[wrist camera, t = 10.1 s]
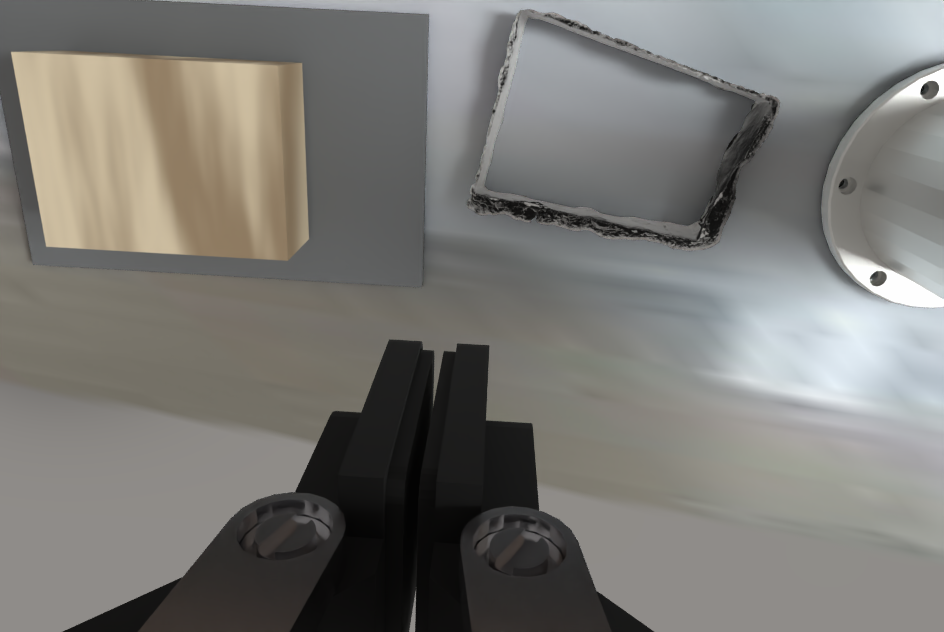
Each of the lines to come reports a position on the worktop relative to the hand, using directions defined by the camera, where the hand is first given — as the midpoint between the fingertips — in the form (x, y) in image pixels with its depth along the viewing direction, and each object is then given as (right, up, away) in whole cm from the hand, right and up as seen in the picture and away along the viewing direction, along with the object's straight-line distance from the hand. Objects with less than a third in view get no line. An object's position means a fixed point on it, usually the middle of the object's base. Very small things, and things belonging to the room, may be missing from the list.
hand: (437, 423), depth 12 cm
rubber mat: (-13, +11, +26) cm, 31 cm away
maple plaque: (-8, +9, +23) cm, 26 cm away
